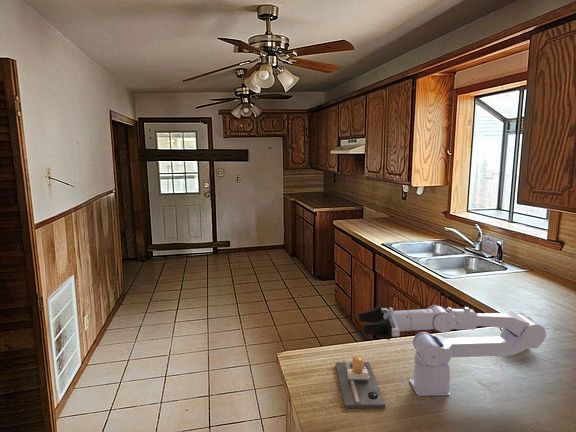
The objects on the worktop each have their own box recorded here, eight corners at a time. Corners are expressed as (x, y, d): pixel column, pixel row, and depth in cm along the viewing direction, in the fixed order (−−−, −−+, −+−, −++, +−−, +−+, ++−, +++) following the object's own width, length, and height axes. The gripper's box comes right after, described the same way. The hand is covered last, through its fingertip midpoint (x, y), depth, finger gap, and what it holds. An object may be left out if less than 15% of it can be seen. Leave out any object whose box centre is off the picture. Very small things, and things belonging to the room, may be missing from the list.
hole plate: (368, 365, 128) (368, 353, 127) (385, 408, 106) (385, 394, 105) (335, 365, 128) (335, 354, 127) (345, 408, 106) (345, 394, 105)
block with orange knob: (368, 374, 119) (368, 355, 118) (370, 380, 116) (370, 361, 115) (347, 374, 119) (347, 356, 118) (348, 380, 116) (348, 361, 115)
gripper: (400, 297, 118) (356, 300, 119) (415, 318, 104) (365, 321, 104) (401, 319, 119) (357, 322, 120) (416, 342, 105) (366, 345, 105)
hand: (361, 323), depth 112 cm, fingers open, 7 cm apart
